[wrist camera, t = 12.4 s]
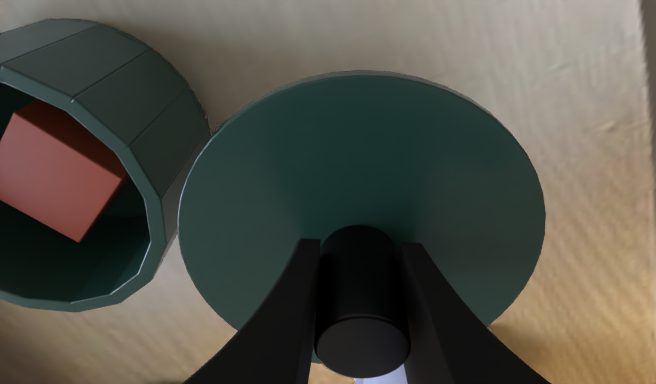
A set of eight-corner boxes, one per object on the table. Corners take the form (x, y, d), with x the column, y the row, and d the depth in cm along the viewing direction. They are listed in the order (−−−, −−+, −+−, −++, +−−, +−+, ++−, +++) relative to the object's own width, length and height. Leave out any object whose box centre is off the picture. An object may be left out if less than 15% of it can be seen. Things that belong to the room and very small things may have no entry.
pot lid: (522, 8, 11) (631, 55, 7) (539, 316, 16) (603, 443, 12) (121, 124, 13) (17, 215, 9) (261, 363, 18) (238, 485, 14)
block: (76, 76, 19) (12, 111, 15) (161, 134, 20) (122, 179, 16) (41, 142, 20) (-23, 188, 17) (122, 191, 22) (79, 243, 18)
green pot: (143, -16, 17) (49, 11, 11) (244, 196, 22) (212, 285, 17) (-65, 59, 19) (-231, 112, 13) (73, 238, 24) (-6, 330, 18)
